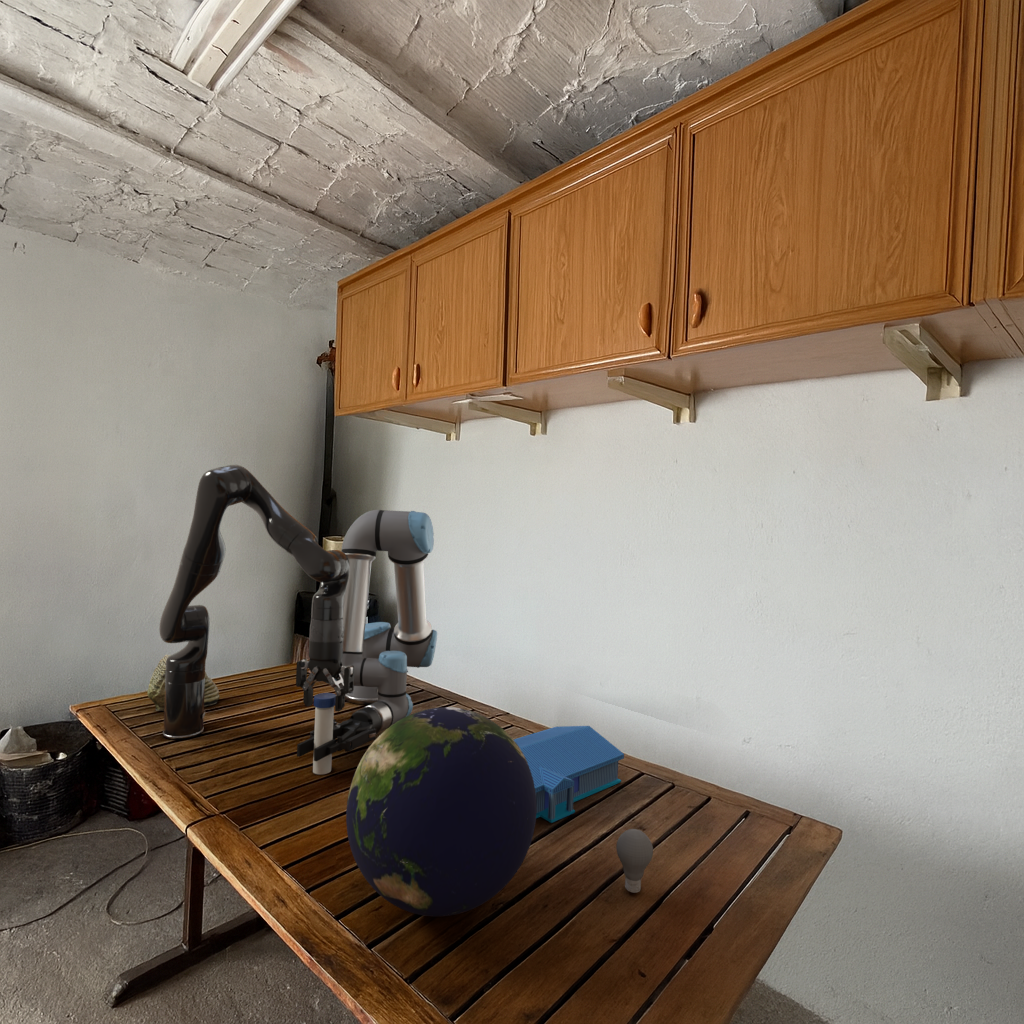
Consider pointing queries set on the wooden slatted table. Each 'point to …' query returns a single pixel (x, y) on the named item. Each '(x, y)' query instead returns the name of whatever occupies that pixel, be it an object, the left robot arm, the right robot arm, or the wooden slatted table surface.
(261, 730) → the wooden slatted table surface
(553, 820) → the model building
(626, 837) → the light bulb
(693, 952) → the wooden slatted table surface
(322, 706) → the lid
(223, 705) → the wooden slatted table surface
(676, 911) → the wooden slatted table surface
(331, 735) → the white tube
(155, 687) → the fossil
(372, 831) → the globe
